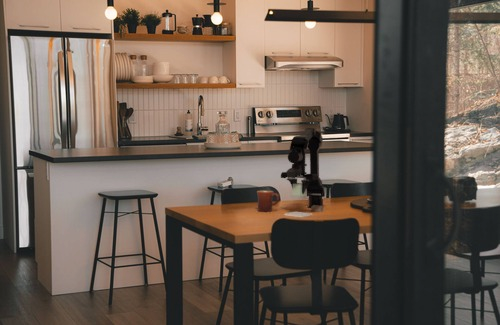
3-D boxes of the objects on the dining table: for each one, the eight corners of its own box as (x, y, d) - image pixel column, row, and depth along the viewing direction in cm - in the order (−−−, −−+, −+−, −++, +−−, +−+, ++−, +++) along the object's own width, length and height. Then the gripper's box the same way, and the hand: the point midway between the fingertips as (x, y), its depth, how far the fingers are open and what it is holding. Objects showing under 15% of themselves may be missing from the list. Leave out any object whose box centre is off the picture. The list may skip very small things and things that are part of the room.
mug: (253, 211, 362) (253, 191, 361) (260, 209, 370) (260, 190, 369) (275, 213, 357) (275, 193, 356) (281, 211, 365) (282, 191, 364)
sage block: (292, 195, 350) (292, 183, 350) (297, 195, 354) (297, 183, 353) (300, 196, 348) (300, 184, 347) (305, 195, 351) (305, 183, 351)
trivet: (284, 215, 350) (284, 213, 350) (295, 213, 358) (295, 211, 358) (301, 217, 345) (301, 215, 344) (312, 215, 353) (312, 213, 352)
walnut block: (311, 212, 365) (311, 206, 364) (313, 210, 369) (313, 205, 369) (320, 212, 363) (320, 206, 363) (323, 211, 367) (323, 205, 367)
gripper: (274, 161, 349) (274, 193, 350) (306, 163, 338) (306, 196, 339) (287, 160, 358) (286, 191, 359) (319, 162, 347) (318, 194, 348)
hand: (298, 193), depth 351 cm, fingers closed on sage block, 4 cm apart
